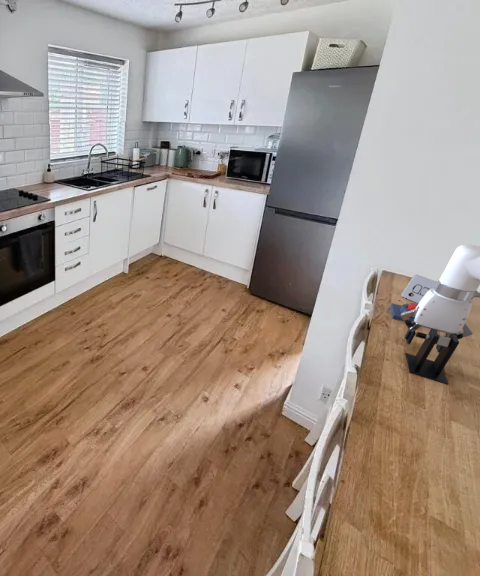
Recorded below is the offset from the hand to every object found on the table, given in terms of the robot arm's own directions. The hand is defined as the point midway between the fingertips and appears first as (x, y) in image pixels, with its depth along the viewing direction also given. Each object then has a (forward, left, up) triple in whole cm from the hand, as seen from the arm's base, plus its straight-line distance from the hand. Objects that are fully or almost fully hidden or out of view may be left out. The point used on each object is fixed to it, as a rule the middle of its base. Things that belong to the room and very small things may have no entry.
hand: (422, 345), depth 106 cm
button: (0, -22, +1) cm, 22 cm away
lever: (0, +6, +4) cm, 7 cm away
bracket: (0, +10, -3) cm, 10 cm away
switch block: (-1, -22, -3) cm, 22 cm away
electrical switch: (-4, -41, -3) cm, 41 cm away
